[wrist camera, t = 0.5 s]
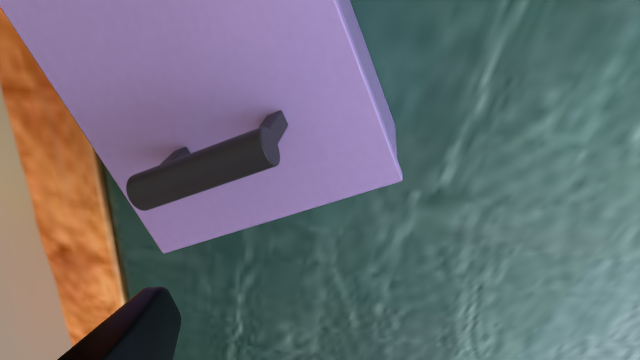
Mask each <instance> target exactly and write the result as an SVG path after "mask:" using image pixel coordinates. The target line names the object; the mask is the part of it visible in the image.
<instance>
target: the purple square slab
mask: <svg viewBox="0 0 640 360" xmlns="http://www.w3.org/2000/svg"><path fill="white" fill-rule="evenodd" d="M0 7H1V9H2V10H3V12H4V13H5V15H6V17H7V18H8V20H9V21H10V23H11V24H12V26H13V27H14V29H15V30H16V32H17V33H18V35H19V36H20V38H21V39H22V41H23V42H24V44H25V45H26V47H27V48H28V50H29V51H30V53H31V54H32V56H33V57H34V59H35V60H36V62H37V63H38V65H39V66H40V68H41V69H42V71H43V72H44V74H45V76H46V77H47V79H48V80H49V82H50V83H51V85H52V86H53V88H54V89H55V91H56V92H57V94H58V95H59V97H60V98H61V100H62V101H63V103H64V104H65V106H66V107H67V109H68V110H69V112H70V113H71V115H72V116H73V118H74V119H75V121H76V122H77V124H78V125H79V127H80V128H81V130H82V132H83V133H84V135H85V136H86V138H87V139H88V141H89V142H90V144H91V145H92V147H93V148H94V150H95V151H96V153H97V154H98V156H99V157H100V159H101V160H102V162H103V163H104V165H105V166H106V168H107V169H108V171H109V172H110V174H111V175H112V177H113V178H114V180H115V181H116V183H117V184H118V186H119V187H120V189H121V191H122V192H123V194H124V195H125V197H126V198H127V200H128V201H129V203H130V204H131V206H132V207H133V209H134V210H135V212H136V213H137V215H138V216H139V218H140V219H141V221H142V222H143V224H144V225H145V227H146V228H147V230H148V231H149V233H150V234H151V236H152V237H153V239H154V240H155V242H156V243H157V245H158V247H159V248H160V250H161V251H162V253H167V252H170V251H174V250H177V249H180V248H183V247H187V246H190V245H193V244H197V243H200V242H203V241H206V240H210V239H213V238H216V237H220V236H223V235H226V234H229V233H233V232H236V231H239V230H243V229H246V228H249V227H252V226H256V225H259V224H262V223H266V222H269V221H272V220H275V219H279V218H282V217H285V216H289V215H292V214H295V213H298V212H302V211H305V210H308V209H312V208H315V207H318V206H321V205H325V204H328V203H331V202H335V201H338V200H341V199H344V198H348V197H351V196H354V195H358V194H361V193H364V192H367V191H371V190H374V189H377V188H381V187H384V186H387V185H390V184H394V183H397V182H400V181H402V171H401V168H400V166H399V163H398V160H397V158H396V155H395V152H394V150H393V147H392V144H391V142H390V139H389V136H388V133H387V131H386V128H385V125H384V123H383V120H382V117H381V115H380V112H379V109H378V107H377V104H376V101H375V99H374V96H373V93H372V91H371V88H370V85H369V82H368V80H367V77H366V74H365V72H364V69H363V66H362V64H361V61H360V58H359V56H358V53H357V50H356V48H355V45H354V42H353V39H352V37H351V34H350V31H349V29H348V26H347V23H346V21H345V18H344V15H343V13H342V10H341V7H340V5H339V2H338V0H0Z"/></svg>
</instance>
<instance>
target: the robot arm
mask: <svg viewBox="0 0 640 360" xmlns="http://www.w3.org/2000/svg"><path fill="white" fill-rule="evenodd" d="M180 325H181V316H180V312H179V310H178V308H177V306H176V304H175V302H174V300H173V298H172V296H171V295H170V293H169V291H168V289H166V288H165V287H147V288H144V289H143V290H141V291H140V292H139V293H138V294H136V295H135V296H134V297H133V298H132V299H130V300H129V301H128V302H127V303H126V304H124V305H123V306H122V307H121V308H119V309H118V310H117V311H116V312H115V313H113V314H112V315H111V316H110V317H109V318H107V319H106V320H105V321H104V322H102V323H101V324H100V325H99V326H98V327H96V328H95V329H94V330H93V331H92V332H90V333H89V334H88V335H87V336H85V337H84V338H83V339H82V340H81V341H79V342H78V343H77V344H76V345H75V346H73V347H72V348H71V349H70V350H69V351H67V352H66V353H65V354H64V355H62V356H61V357H60V358H59V359H58V360H173V356H174V351H175V347H176V343H177V338H178V334H179V330H180Z"/></svg>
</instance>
